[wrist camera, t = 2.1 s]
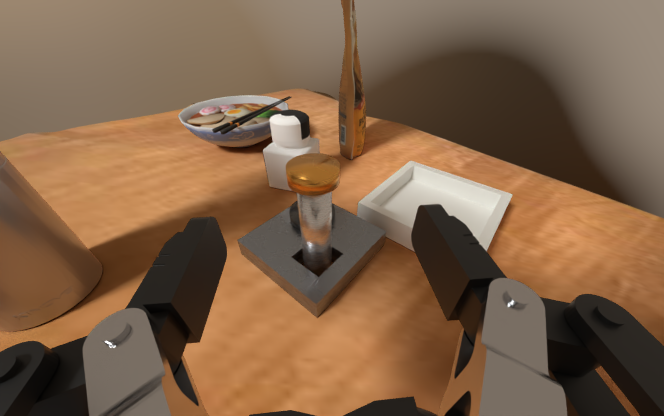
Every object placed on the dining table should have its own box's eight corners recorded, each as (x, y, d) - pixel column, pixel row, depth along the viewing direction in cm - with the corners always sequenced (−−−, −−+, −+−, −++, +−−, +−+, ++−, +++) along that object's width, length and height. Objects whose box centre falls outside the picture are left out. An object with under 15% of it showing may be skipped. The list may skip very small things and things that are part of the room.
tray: (356, 221, 36) (358, 202, 34) (406, 177, 46) (410, 160, 44) (470, 281, 28) (481, 261, 26) (502, 213, 38) (512, 194, 36)
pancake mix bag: (329, 162, 51) (329, -26, 33) (339, 128, 65) (342, -15, 48) (362, 164, 50) (380, -27, 32) (365, 129, 65) (377, -15, 47)
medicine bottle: (286, 168, 49) (278, 104, 41) (320, 174, 47) (318, 108, 40) (268, 187, 43) (255, 118, 36) (306, 194, 42) (301, 124, 34)
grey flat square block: (241, 254, 32) (234, 230, 29) (312, 205, 39) (311, 184, 37) (317, 317, 25) (315, 295, 22) (383, 244, 33) (388, 221, 30)
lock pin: (290, 271, 30) (274, 167, 21) (317, 248, 32) (312, 148, 24) (319, 293, 27) (314, 186, 18) (345, 267, 30) (351, 163, 21)
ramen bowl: (239, 118, 71) (232, 87, 66) (310, 130, 64) (309, 96, 59) (162, 154, 53) (144, 115, 48) (248, 176, 46) (238, 134, 41)
